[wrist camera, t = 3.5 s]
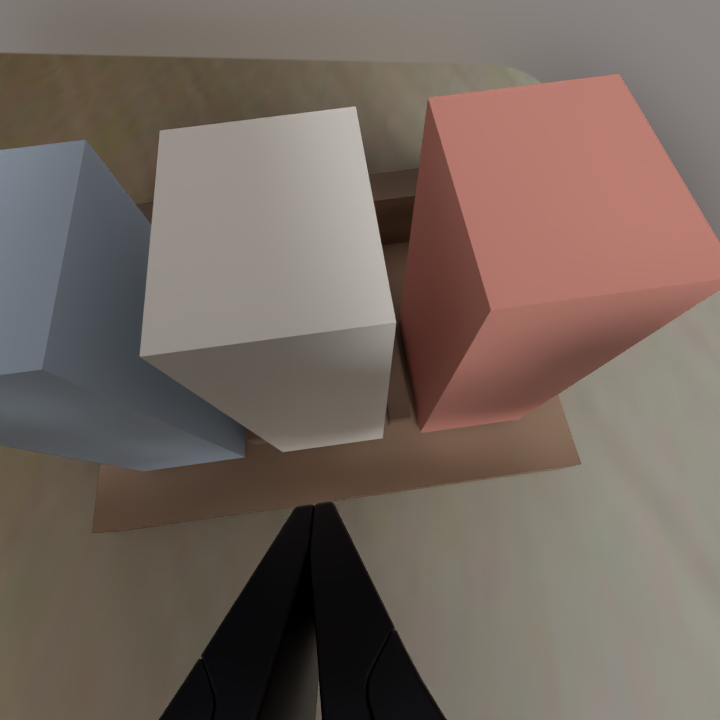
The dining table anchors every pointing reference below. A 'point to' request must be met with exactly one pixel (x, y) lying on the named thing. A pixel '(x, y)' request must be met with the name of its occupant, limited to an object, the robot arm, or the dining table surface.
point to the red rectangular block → (541, 247)
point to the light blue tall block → (87, 323)
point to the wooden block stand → (350, 460)
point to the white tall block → (272, 277)
